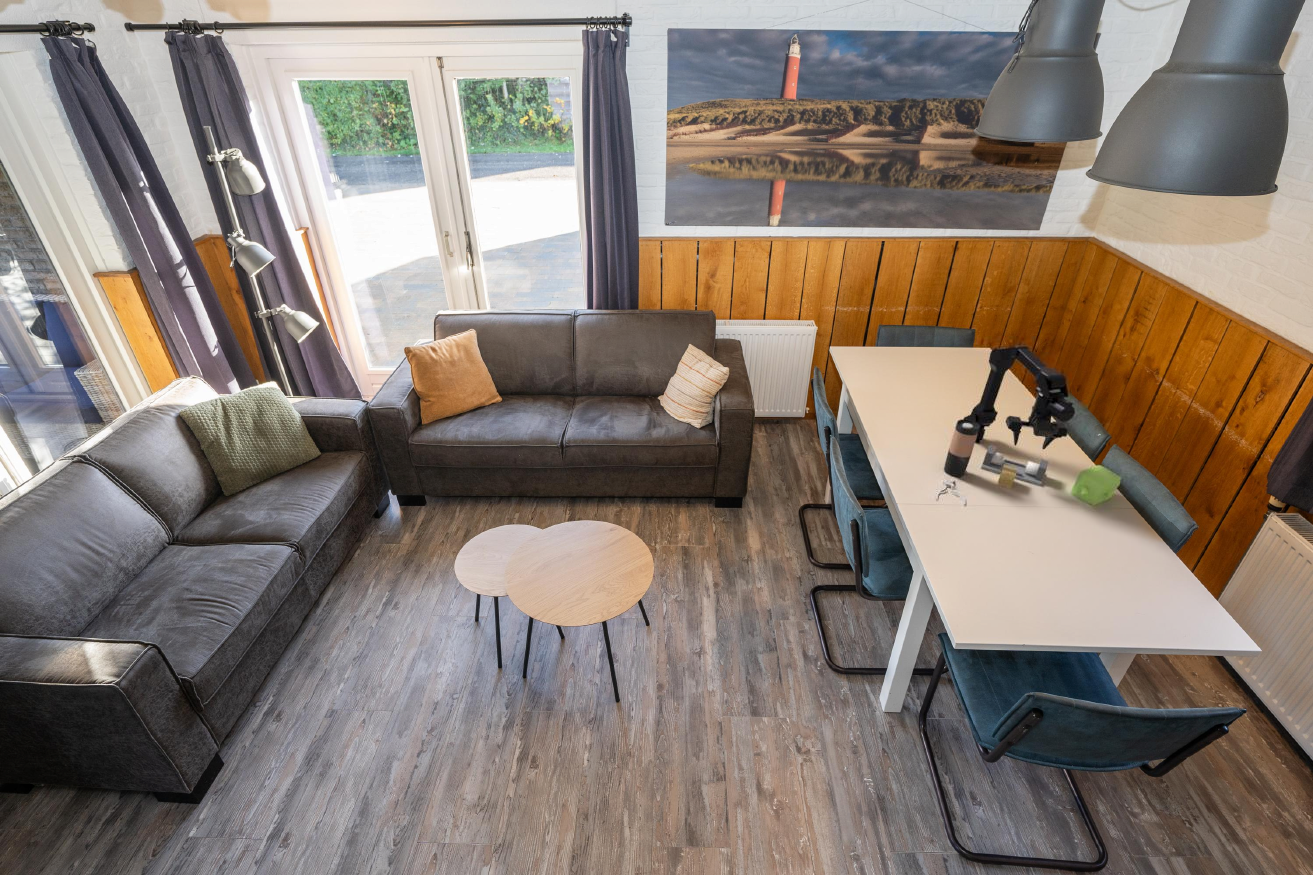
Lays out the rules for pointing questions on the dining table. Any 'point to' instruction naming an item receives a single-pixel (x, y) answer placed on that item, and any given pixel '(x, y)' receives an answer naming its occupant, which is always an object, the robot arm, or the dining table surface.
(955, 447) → the travel mug
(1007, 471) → the banded gold block
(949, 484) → the white thin branched piece
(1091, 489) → the green lump
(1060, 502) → the dining table surface
